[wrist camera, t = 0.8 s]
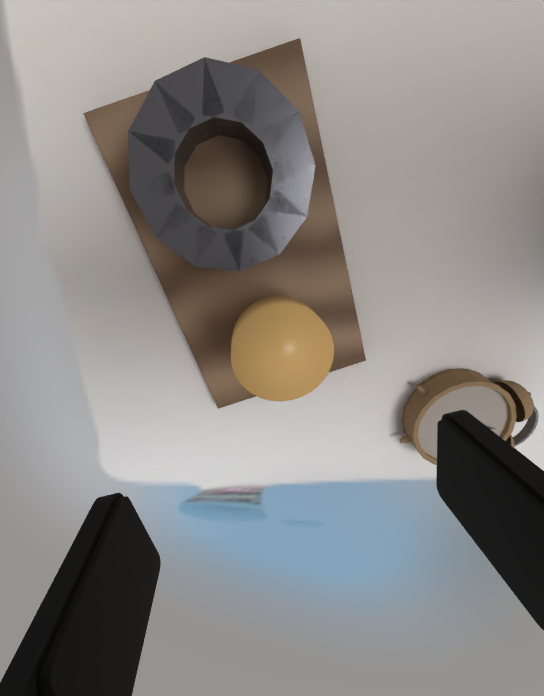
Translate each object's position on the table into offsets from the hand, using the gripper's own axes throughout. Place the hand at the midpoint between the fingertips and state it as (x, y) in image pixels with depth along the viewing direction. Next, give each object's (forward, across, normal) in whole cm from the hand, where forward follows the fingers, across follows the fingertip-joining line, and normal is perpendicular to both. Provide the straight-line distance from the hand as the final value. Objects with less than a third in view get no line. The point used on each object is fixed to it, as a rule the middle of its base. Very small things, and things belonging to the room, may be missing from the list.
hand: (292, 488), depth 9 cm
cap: (+20, -1, +2) cm, 20 cm away
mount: (+22, -1, -5) cm, 22 cm away
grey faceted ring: (+20, 0, -11) cm, 23 cm away
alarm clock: (+22, -21, +18) cm, 35 cm away
